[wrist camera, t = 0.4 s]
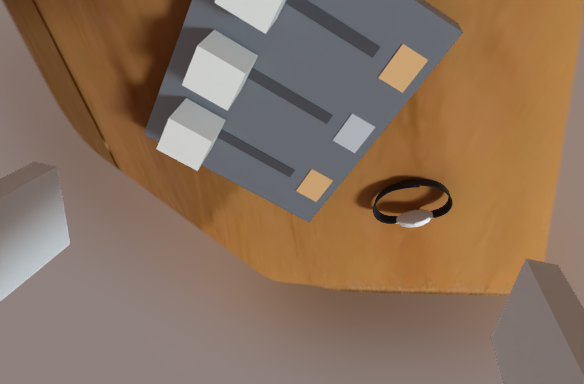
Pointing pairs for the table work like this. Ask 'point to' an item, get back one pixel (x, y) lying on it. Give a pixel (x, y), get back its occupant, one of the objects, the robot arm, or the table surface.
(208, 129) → the tab
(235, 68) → the tab middle
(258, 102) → the switch panel
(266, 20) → the tab
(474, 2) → the table surface
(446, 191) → the watch
